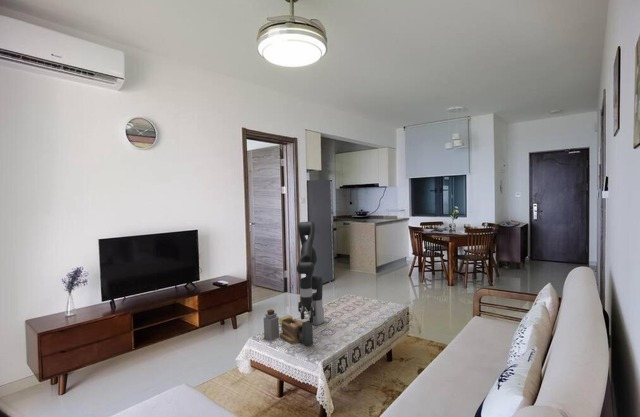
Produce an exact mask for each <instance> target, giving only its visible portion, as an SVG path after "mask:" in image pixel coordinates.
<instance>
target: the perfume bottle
mask: <svg viewBox="0 0 640 417" xmlns="http://www.w3.org/2000/svg"><path fill="white" fill-rule="evenodd" d="M279 318H280V317H279V316H278V313H277V312H275V310H274V309H271V308H270V309H268V310H267V311H266V313H264V317H263V336H264V337H263V339H266V340H268V341H270V342H272V341H274V340H277V339H279V338H280V335H279V334H280V324H279Z"/></svg>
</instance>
